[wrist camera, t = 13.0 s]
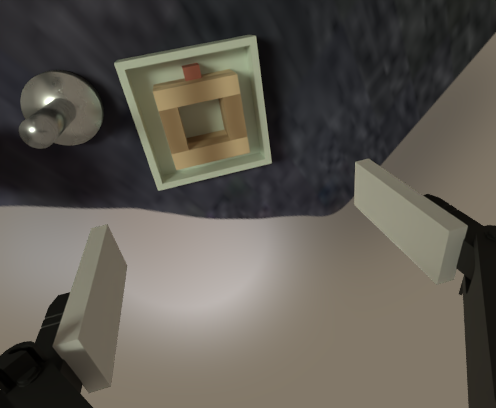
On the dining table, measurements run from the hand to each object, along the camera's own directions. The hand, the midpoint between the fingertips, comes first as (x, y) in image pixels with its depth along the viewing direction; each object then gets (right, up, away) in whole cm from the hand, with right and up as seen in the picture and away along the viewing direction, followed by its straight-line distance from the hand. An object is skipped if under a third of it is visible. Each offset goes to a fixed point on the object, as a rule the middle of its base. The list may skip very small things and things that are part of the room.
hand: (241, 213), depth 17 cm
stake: (-18, +10, +16) cm, 26 cm away
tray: (-5, +11, +19) cm, 22 cm away
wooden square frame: (-5, +10, +18) cm, 22 cm away
